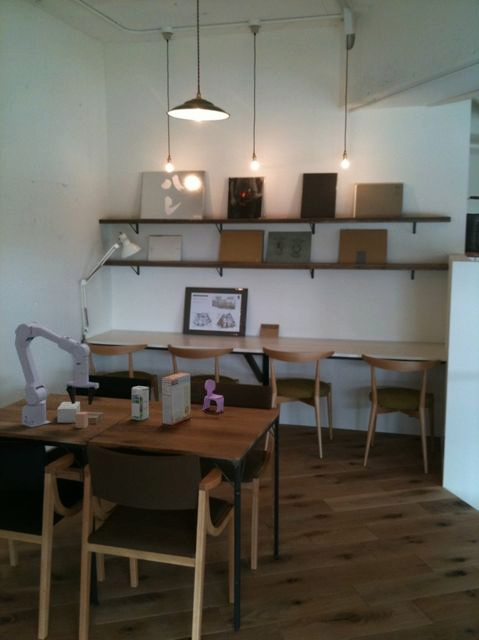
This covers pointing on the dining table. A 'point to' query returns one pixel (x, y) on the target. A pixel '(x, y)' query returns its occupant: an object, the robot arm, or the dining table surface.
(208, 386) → the toy chair
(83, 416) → the terracotta block
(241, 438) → the dining table surface
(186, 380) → the cracker box
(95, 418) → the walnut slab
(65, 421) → the small box
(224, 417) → the dining table surface
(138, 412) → the syrup box
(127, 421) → the dining table surface
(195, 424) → the dining table surface
